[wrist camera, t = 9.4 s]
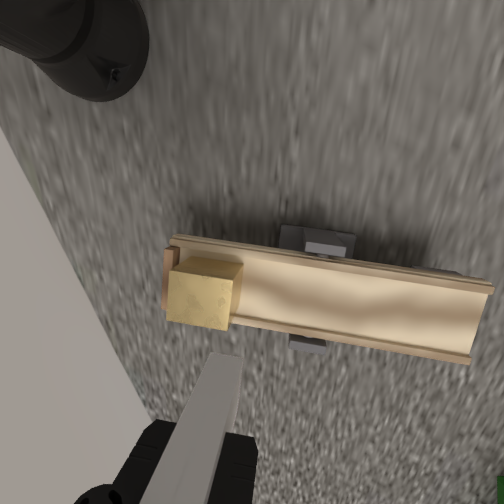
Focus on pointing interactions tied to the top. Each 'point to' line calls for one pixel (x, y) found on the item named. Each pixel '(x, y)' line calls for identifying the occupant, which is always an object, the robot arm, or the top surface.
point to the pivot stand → (314, 243)
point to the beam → (347, 298)
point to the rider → (204, 292)
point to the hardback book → (500, 489)
